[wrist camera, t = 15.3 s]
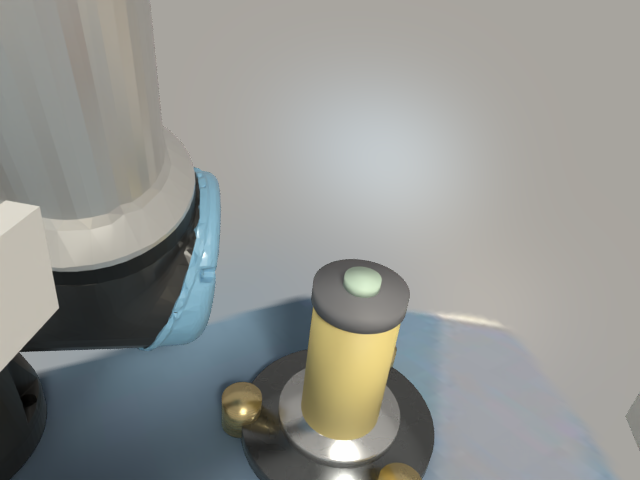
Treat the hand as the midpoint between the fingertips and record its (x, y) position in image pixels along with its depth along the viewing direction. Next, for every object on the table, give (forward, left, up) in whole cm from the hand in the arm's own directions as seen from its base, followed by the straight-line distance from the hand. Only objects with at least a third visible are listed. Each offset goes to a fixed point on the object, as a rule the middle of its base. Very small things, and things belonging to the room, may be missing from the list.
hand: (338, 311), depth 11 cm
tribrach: (-7, +21, -30) cm, 37 cm away
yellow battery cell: (-7, +21, -28) cm, 35 cm away
